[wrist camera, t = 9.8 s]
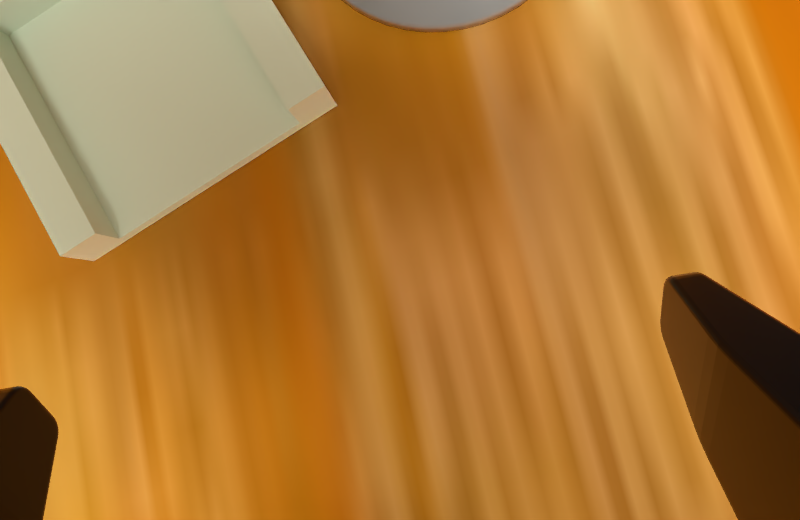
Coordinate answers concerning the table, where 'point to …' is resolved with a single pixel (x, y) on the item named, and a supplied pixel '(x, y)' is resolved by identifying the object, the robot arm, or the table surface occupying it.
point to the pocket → (142, 106)
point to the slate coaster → (433, 12)
